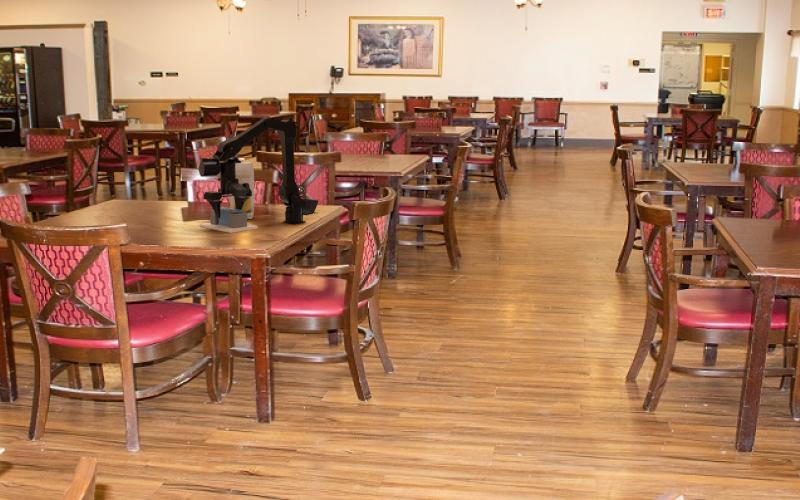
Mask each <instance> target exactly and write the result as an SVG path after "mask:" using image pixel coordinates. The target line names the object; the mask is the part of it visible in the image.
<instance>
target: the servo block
mask: <svg viewBox="0 0 800 500" xmlns="http://www.w3.org/2000/svg"><path fill="white" fill-rule="evenodd" d="M238 212H243V210H238V209H233V208H230V207H226V206H220V218H218V225H223V226H228V227H229V213H238Z"/></svg>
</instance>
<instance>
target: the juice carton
mask: <svg viewBox="0 0 800 500" xmlns="http://www.w3.org/2000/svg"><path fill="white" fill-rule="evenodd" d="M238 159H239V160H240V161H241V163H236V178H238V181H239V184H243V183H248V184H249V185H250V189H251V191H252V196H251V197H249V199H247V200H246V201H245V202H244V204H243V207H242V210H243V212H246V213H247V220H252V219H253V218H254V212H255V171H254V164H253V161H251V160H246V158H244V157H243V158H242V157H241V158H240V157H239V158H238ZM229 208H233V209H236V207H235V200H234V196H230V197H229Z"/></svg>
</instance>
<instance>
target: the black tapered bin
mask: <svg viewBox="0 0 800 500" xmlns="http://www.w3.org/2000/svg"><path fill="white" fill-rule="evenodd" d="M302 199H303V200H304V201H305V202H306V204H305V208H303V216H309V214H310V215H313V213H314V214H315V212H316V208H317V206H318V204H319V200H318V199H309V198H302Z"/></svg>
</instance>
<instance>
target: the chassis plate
mask: <svg viewBox="0 0 800 500" xmlns="http://www.w3.org/2000/svg"><path fill="white" fill-rule="evenodd" d="M209 212H210V214H209V215H210V219H209V220H210V221H209V222H205V223H199V227H200V228H204V229H210V230H214V231H220V232H224V233H230V234H232V233H238V232H245V231H252V230H257V229H259V227H258V225H255V224H250V223H249V224H248V219H247V213H246V212H238V213H229V227H228V226H223V225H218V218H217V216H216V214H215V212H214V210H213V209H210V210H209Z"/></svg>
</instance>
